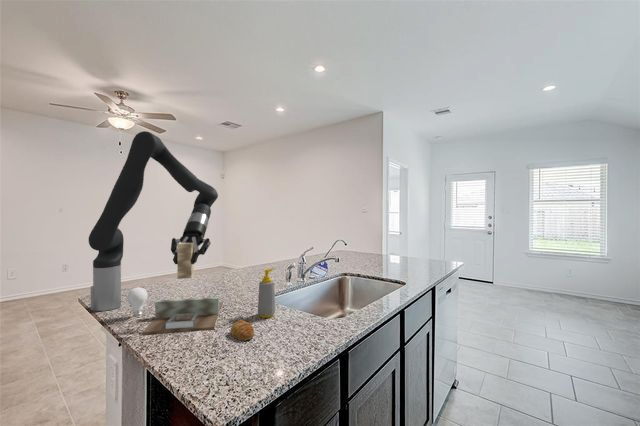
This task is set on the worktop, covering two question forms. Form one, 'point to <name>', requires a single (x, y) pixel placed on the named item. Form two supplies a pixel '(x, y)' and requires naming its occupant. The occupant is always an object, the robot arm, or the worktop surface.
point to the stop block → (185, 260)
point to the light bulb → (137, 299)
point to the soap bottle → (266, 296)
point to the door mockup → (202, 306)
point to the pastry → (242, 330)
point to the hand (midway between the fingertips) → (183, 262)
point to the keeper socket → (183, 324)
